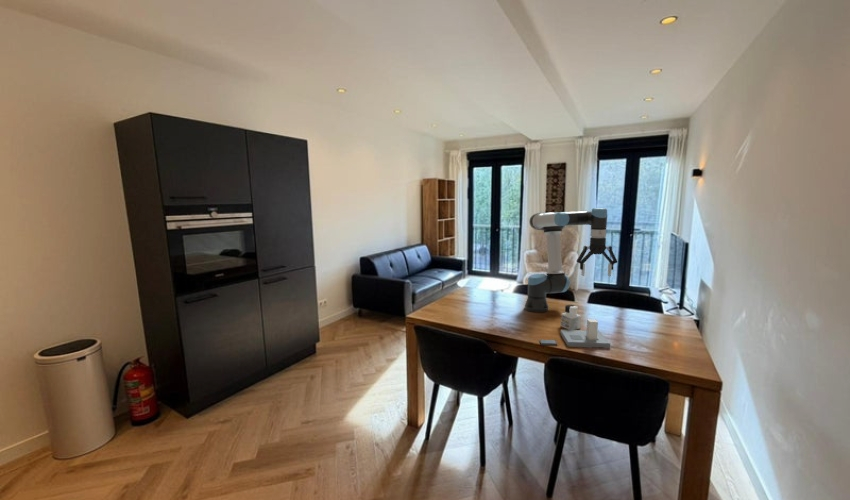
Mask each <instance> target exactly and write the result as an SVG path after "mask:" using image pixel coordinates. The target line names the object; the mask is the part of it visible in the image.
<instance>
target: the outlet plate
mask: <svg viewBox="0 0 850 500" xmlns="http://www.w3.org/2000/svg"><path fill="white" fill-rule="evenodd" d="M586 331H587V329H586V330H582V329H581V330H580V329H575V330H568V329H560V335H561V337H562V339H563V341H564V343H565V345H566V346H567V347H570V348H571V347H573V348H592V347H604V348H603V349H611V342H610V341H609V340H608V339H607V338H606V336H605V335H603V333H602V332H601V331H600V330H597V340H587V338H586Z"/></svg>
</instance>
